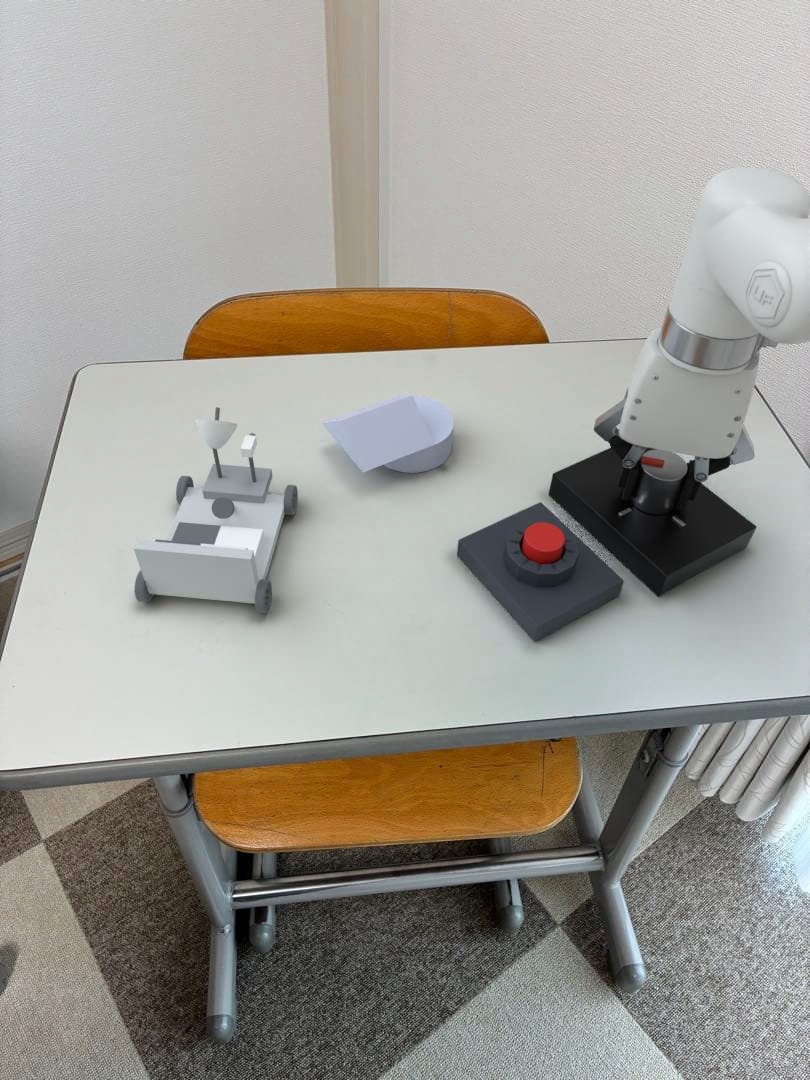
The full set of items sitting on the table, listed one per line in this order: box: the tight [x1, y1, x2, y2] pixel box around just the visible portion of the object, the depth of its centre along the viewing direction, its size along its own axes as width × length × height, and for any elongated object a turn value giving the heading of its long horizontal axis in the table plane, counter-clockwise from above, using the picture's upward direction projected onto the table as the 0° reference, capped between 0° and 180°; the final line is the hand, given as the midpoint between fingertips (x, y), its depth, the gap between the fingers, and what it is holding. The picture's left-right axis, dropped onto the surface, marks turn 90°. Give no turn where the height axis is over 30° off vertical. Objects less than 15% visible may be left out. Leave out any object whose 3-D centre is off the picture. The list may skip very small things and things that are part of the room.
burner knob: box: [630, 449, 688, 514], centre depth 76 cm, size 4×4×5 cm
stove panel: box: [548, 447, 758, 598], centre depth 79 cm, size 16×12×3 cm
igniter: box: [456, 501, 625, 642], centre depth 74 cm, size 12×10×4 cm
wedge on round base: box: [321, 394, 455, 474], centre depth 84 cm, size 9×7×13 cm
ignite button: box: [522, 523, 565, 564], centre depth 72 cm, size 4×4×2 cm
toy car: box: [133, 407, 299, 614], centre depth 74 cm, size 18×10×12 cm
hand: (653, 494), depth 78 cm, fingers closed on burner knob, 4 cm apart
